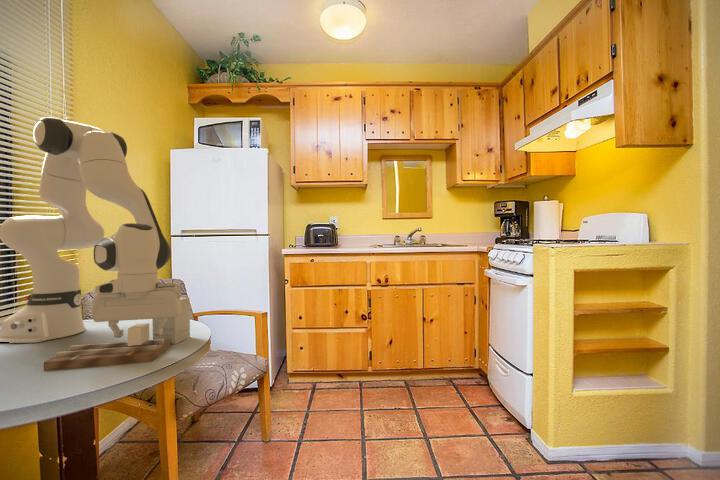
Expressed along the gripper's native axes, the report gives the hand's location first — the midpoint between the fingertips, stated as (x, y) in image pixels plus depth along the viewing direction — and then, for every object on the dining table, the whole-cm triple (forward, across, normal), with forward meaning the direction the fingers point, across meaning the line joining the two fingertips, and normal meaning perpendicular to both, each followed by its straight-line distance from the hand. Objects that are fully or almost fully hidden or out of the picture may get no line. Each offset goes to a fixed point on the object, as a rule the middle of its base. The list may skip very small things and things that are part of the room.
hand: (138, 335), depth 84 cm
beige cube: (+3, 0, 0) cm, 3 cm away
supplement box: (+5, -4, -12) cm, 14 cm away
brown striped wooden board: (+5, +6, 0) cm, 8 cm away
